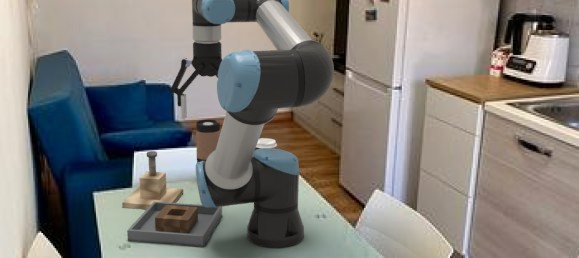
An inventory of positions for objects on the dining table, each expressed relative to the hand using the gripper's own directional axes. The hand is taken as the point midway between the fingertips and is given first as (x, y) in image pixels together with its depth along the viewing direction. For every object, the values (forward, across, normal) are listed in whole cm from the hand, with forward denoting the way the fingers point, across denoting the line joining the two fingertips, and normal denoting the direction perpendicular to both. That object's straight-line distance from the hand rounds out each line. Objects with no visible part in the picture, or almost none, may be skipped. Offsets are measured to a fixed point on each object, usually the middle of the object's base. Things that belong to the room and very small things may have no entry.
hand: (208, 119), depth 174 cm
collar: (+28, +7, +10) cm, 30 cm away
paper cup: (+28, -12, -29) cm, 42 cm away
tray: (+28, +7, +10) cm, 31 cm away
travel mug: (+28, +6, -27) cm, 39 cm away
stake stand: (+28, +19, -8) cm, 35 cm away
